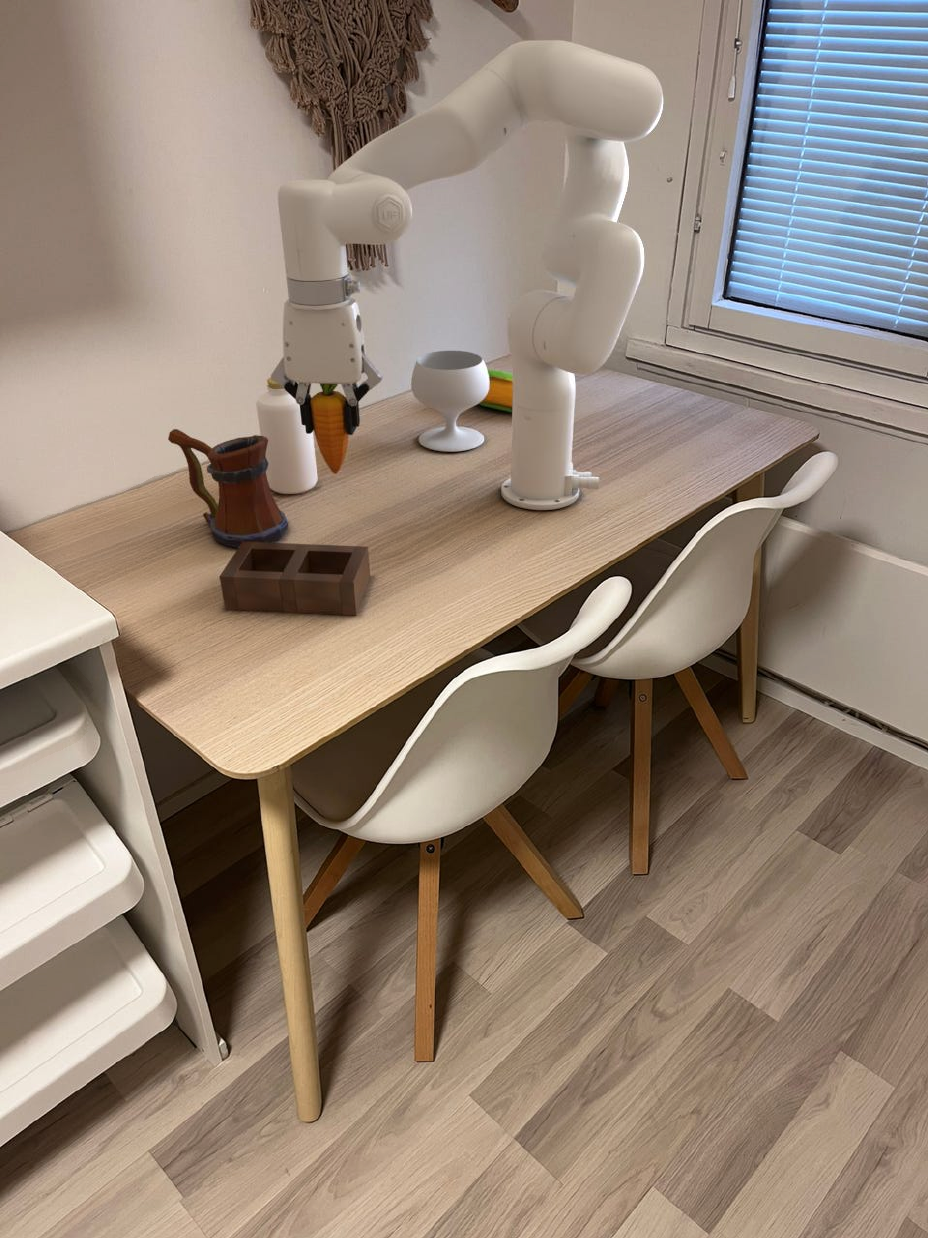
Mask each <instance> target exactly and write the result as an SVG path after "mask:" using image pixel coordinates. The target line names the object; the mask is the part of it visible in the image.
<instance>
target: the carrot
mask: <svg viewBox="0 0 928 1238" xmlns="http://www.w3.org/2000/svg"><path fill="white" fill-rule="evenodd" d="M318 384H319V386H320V388H321V391H318V392H317V393H316V394H314V395H313V396H311V401H310V405H311V414H312V421H313V427H314V430H313V434H314V437H315V440H316V443H317V447H318V449H319V452H320V455H321V457H322V458H323V460H324V462H325V464H326V466H327V467H328V469H329V470H330V471H331V472H332V473H333V474H335V475H337V474H338V473H339V471H340V470H341V468H342V466H343V463H344V461H345V459H346V454H347V451H348V444H349V435H348V434H347V432H346V420H345V406H346V404H347V398H346V395H345V394H342V392H340V391H338V390H335V389H337V387H338V385H339V384H320V383H318Z"/></svg>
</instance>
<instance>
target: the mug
mask: <svg viewBox="0 0 928 1238" xmlns="http://www.w3.org/2000/svg"><path fill="white" fill-rule="evenodd" d="M167 440H168V441H169V442H170V443H171V444H173V445H177V446H178V447H179V448H180V449H181V451H182V452H183V455H184V457H185V459H186V464H187V468H188V475H189V476H188V477H189V478H188V479H189V484H190V487H191V489H192V491H193V492H194V494H195V495H196V496H197V497H199V498H200V499H201V500H203V501H204V503H205V504H206V505H207V507H208V509H209V512H210V513H209V512H206V511H205V512H204V513H203V514H202V516H203V518H204V520H205V522H206V523H208V524H209V527H210V530H211V534H212V536H213V538H214V540H215V541H216V542H218V543H219V544H222V545H225V546H227V547H232V548H235V549H238V548H239V546H240V545H241V543H242V542H267V543H276V542H277V541H280V540H281V539H282V538H283V536H284V535H285V533H286V532H287V531H288V529H289V521H288V519H287V516H286V514H285V512H284V511H283V510H281V509H280V507H279V505H278V504H277V502H276V500H275V498H274V496H273V494H272V492H271V488H270V487H269V484H268V480H267V476H266V470H267V468H268V464H269V463H268V461H267V459H266V449H267V444H268V439H267V437H264V436H261V435H259V434H254V435H251V436H242V437H236V438H233V439H229V440H226V441H223V442H221V443H219V444H216V445H215V446H213V447H211V446H209V445H208V444H207V443H205V442H204V441H201V440H199V439H197V438H194V437H192V436H190V435H188V434H186V433H185V432H183V431H182V430H180V429H178V428H174V429H172V430H171V431H169V433H168V438H167ZM192 449H193V450H195V451H198V452H200V453H202V454H203V455H205V457H206V458H207V459H208V461H209V463H210V464H208V465H206V472H207V474H210V476H211V478H212V479H213V480H214V481H215V482H216V483H217V484H218V485H217V486H218V502H217V501H216V500H215V498H214V497H213V496H212V494H211V493H210V492H209V491H208V490H207V488H206V486H205V483H204V482H205V480H204V474H203V469H202V465H201V463H200V460H199V458H198V457H197V455H196V454H195V452H194V451H193V450H192Z"/></svg>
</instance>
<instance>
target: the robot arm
mask: <svg viewBox="0 0 928 1238" xmlns="http://www.w3.org/2000/svg"><path fill="white" fill-rule="evenodd" d="M663 107H664V93H663V88H662V85H661V82H660V81H659V78H658V77H657V76H656V74H655V72H653V71H652V70H651V69H650V68H648V67H647V66H646V65H643V64H640V63H638V62H635V61H632V60H628V59H626V58H621V57H618V56H615V55H613V54H609V53H606V52H603V51H599V50H598V49H594V48H591V47H588V46H585V45H583V44H579V43H576V42H572V41H568V40H562V39H551V40H550V39H549V40H545V39H544V40H535V39H534V40H532V39H531V40H521V41H518V42H515V43H513V44H511V45H510V46H509V45H508V47H506V48H505V49H503V50H502V51H501V52H500V53H498V54H497V55H496V56H495V57H493V58H492V59H491V60H489V61H488V62H487V63H486V64H485V65H483V66H482V67H481V68H480V69H478V70H477V71H476V72H475V73H474V74H472V75H471V76H469V78H467V79H466V80H465V81H463V82H462V83H461V84H460V85H459V86H457V87H456V88H455V89H454V90H453V91H451V92H450V93H449V94H447V95H446V96H445V97H443V99H441V100H440V101H438V102H437V103H436V104H435V105H433V106H431V107H429V108H428V109H426V110H424V111H422V112H420V113H417V114H416V115H414V116H412V117H411V118H409V119H407V120H406V121H404V122H402V123H399V124H398V125H397V126H394V127H392V128H391V129H389V130H387V131H386V132H384V133H382V134H380V135H379V136H377V137H375V138H374V139H372V140H371V141H370V142H368V143H366V144H365V145H364V146H362V147H361V148H360V149H358V150H357V151H356V152H355V153H353V154H352V155H351V156H350V157H348V158H347V160H345V161H343V162H342V164H340V165H339V166H338V167H337V168H335V170H333V172H332V173H331V174H330V175H329V176H328V178H327V179H320V178H306V179H303V178H301V179H294V180H289V181H287V182H284V183H282V184H281V185H280V187H279V189H278V191H277V204H278V213H279V214H278V215H279V223H280V231H281V239H282V240H281V241H282V250H283V259H284V267H285V276H286V286H287V296H288V299H287V300H285V302H284V305H283V316H282V351H283V356H282V358H281V359H280V360H279V362H278V364H277V365H276V367H275V368H274V369H273V372H272V373H271V374H270V378H271V379H272V380H273V381H275V382H276V383H277V384H279V385H280V386H281V387H284V388H285V390H286V391H287V392H288V393H289V394H290V395H291V396H292V397H293V398H294V399H296V403H297V404H299V405H300V414H301V423H302V425H305V429H306V434H311V433H312V432H313V433H314V427H313V421H312V414H311V405H310V401H311V398H312V396H311V391H312V390H311V389H312V384H319V383H320V384H338V385H341V387H342V390H343V392H344V393H343V394H344V396H345V397H346V398H347V404H346V406H345V420H346V432H347V434H348V436H353V435H354V433H355V431H356V429H357V428H359V427H360V425H361V417H360V404H359V402H360V401H361V400H362V399H363V398H364V397H365V396H366V395H367V393H368V392H369V391H371V390H372V389H373V388H375V387H376V386H377V385H379V384H380V383H381V382H382V380H383V374H382V373H381V372H380V371H379V369H378V368H377V367H376V366H375V365H374V363H373V362H372V361H371V360H370V359H369V357H368V356H367V349H366V348H367V347H366V342H365V334H364V328H363V322H362V318H361V317H362V316H361V314H360V313H361V312H360V308H359V304H358V301H357V299H355V298H351V296H352V295H354V294H360V293H361V282H360V281H358V280H357V281H355V280H353V279H352V280H351V277H350V273H349V271H348V269H349V268H348V256H347V245H349V244H351V245H352V244H357V245H372V246H373V245H374V246H375V245H377V246H379V245H386V244H391V243H393V242H395V241H397V240H399V239H400V238H401V237H402V236H403V235H404V234H405V233H406V232H407V231H408V229H409V227H410V225H411V223H412V219H413V205H412V201H411V199H410V197H409V195H408V193H407V192H408V191H409V190H411V189H413V188H416V187H417V186H419V185H422V184H425V183H427V182H432V181H435V180H440V179H447V178H452V177H454V176H459V175H462V174H464V173H467V172H470V171H473V170H474V169H477V168H478V167H479V166H480V165H482V164H483V163H484V162H485V161H486V160H487V159H489V158H490V157H491V156H492V155H494V154H495V153H496V152H497V151H498V150H499V149H501V148H502V147H503V146H504V145H505V144H506V143H508V142H509V141H510V140H511V139H513V138H514V137H516V135H519V133H520V132H522V131H523V129H526V127H528V126H529V125H530V124H532V123H533V122H536V121H540V122H541V121H542V122H551V123H558V125H559V127H560V129H561V131H562V134H563V136H564V139H565V142H566V145H567V146H566V147H567V151H568V170H567V176H566V178H565V183H564V186H563V189H562V192H561V195H560V197H559V201H558V204H557V206H556V210H555V213H554V214H553V218H552V221H551V224H550V227H549V230H548V232H547V235H546V238H545V241H544V244H543V247H542V253H541V264H542V267H543V270H544V273H546V274H547V275H548V277H550V278H551V279H553V280H554V281H556V282H558V283H560V284H562V285H564V286H568V287H570V288H574V289H575V292H574V294H573V297H572V296H568V295H566V294H563V293H560V292H556V291H552V290H548V289H535V290H531V291H529V292H526V293H525V294H523V295H521V296H520V297H519V298H518V299H517V300H516V301H515V303H514V304H513V306H512V308H511V310H510V312H509V316H508V320H507V340H508V346H509V353H510V360H511V368H512V374H513V402H512V409H511V410H512V412H511V453H510V454H511V455H510V456H511V459H510V460H511V461H510V462H511V463H510V477H509V478H507V479H506V480H505V481H504V482H503V483H502V484H501V486H500V487H501V489H500V490H501V491H500V495H501V497H502V498H503V500H504V501H505V502H507V503H508V504H510V505H513V506H515V507H517V508H521V509H526V510H532V511H550V510H558V509H563V508H566V507H568V506H570V505H572V504H574V503H576V502H577V500H578V499H579V497H580V489H588V490H599V489H600V488H599V487H600V476H592V472H591V471H582V472H581V471H577V469H575V470H574V462H572V457H573V456H572V455H573V440H574V438H573V437H574V422H575V408H576V407H575V404H576V377H575V375H577V376H585V375H586V376H587V375H590V374H593V373H594V372H596V371H598V370H599V369H600V368H602V366H604V364H605V363H606V362H607V361H608V359H609V357H610V356H611V354H612V352H613V350H614V348H615V346H616V344H617V340H618V339H619V337H620V333H621V331H622V329H623V327H624V324H625V321H626V319H627V317H628V314H629V311H630V309H631V306H632V303H633V300H634V299H635V295H636V293H637V290H638V288H639V285H640V283H641V279H642V276H643V272H644V267H645V266H644V265H645V253H644V246H643V242H642V240H641V237H640V236H639V234H638V233H637V231H635V229H633V228H632V227H631V226H629V225H627V224H625V223H623V222H619V221H618V218H619V215H620V212H621V209H622V206H623V202H624V199H625V197H626V193H627V189H628V185H629V175H630V171H629V162H628V161H629V159H628V155H627V150H626V146H625V143H632V142H636V141H638V140H642V139H643V138H645V137H647V135H649V134H650V133H651V132H652V131H653V130H654V128H655V127H656V125H657V124H658V122H659V120H660V118H661V115H662V113H663ZM362 374H364V375H366V376H367V378H366V379H365V380H364V381H362V382H361V383H360V385H359V384H358V382H360V381H361V379H362ZM320 384H319V385H320Z"/></svg>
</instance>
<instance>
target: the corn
mask: <svg viewBox="0 0 928 1238" xmlns="http://www.w3.org/2000/svg"><path fill="white" fill-rule="evenodd" d="M487 370H488V374H489V381H490V382H489V391H488V394H487V395H486V397H485V398H484V399H483V400H482V401H481V402H480V403H478V404H477V405H480V406H482V407H485V408H489V409H490V408H491V409H495V410H499V411H504V412H508V413H512V402H513V373H511V372H507V371H503V370H496V369H489V368H487Z"/></svg>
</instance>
